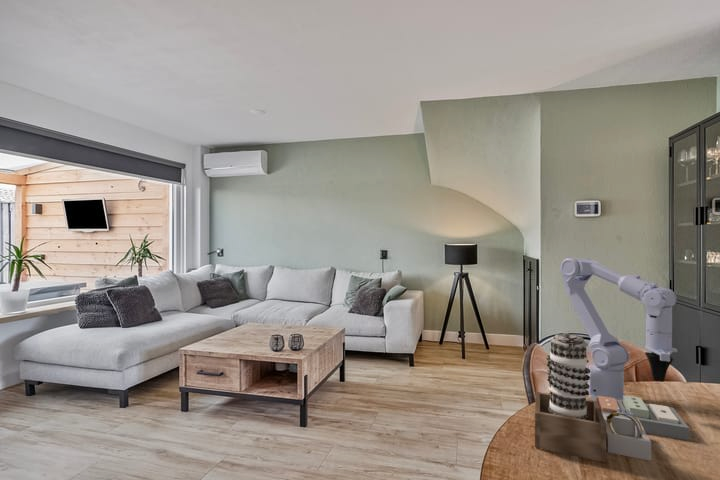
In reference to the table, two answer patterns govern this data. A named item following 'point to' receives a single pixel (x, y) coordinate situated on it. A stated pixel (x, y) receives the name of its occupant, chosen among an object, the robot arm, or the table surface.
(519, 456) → the table surface
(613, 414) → the ring
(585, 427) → the box
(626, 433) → the bracelet dish
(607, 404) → the tile two terracotta
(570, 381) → the decorative candle
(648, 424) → the button board
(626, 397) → the tile three sage
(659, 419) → the tile one cream
